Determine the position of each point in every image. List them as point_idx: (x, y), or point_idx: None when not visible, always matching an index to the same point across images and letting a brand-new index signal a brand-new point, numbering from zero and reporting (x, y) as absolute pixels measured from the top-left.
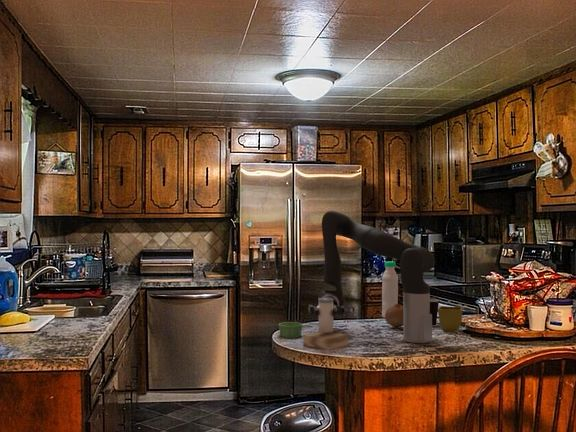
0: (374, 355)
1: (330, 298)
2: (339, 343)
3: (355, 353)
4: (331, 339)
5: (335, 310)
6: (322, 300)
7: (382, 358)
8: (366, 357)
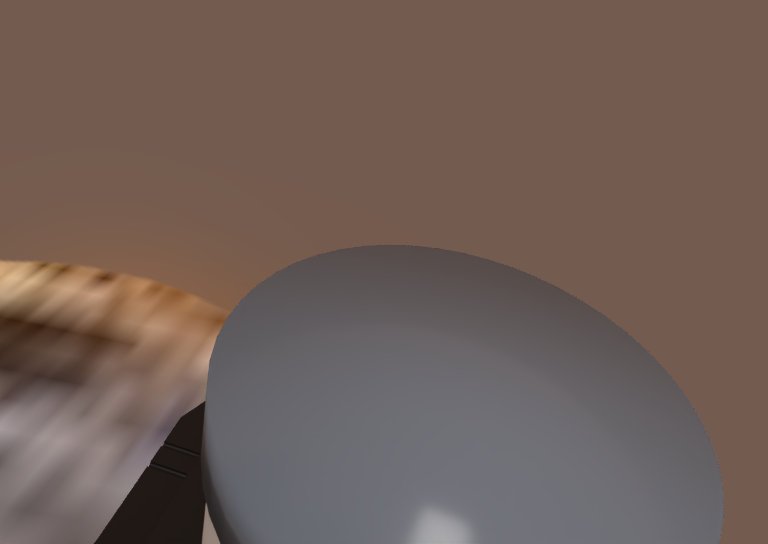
0: (10, 335)
1: (299, 399)
2: None
3: (124, 412)
4: None
5: (190, 455)
6: (557, 309)
7: (15, 271)
8: (110, 311)
